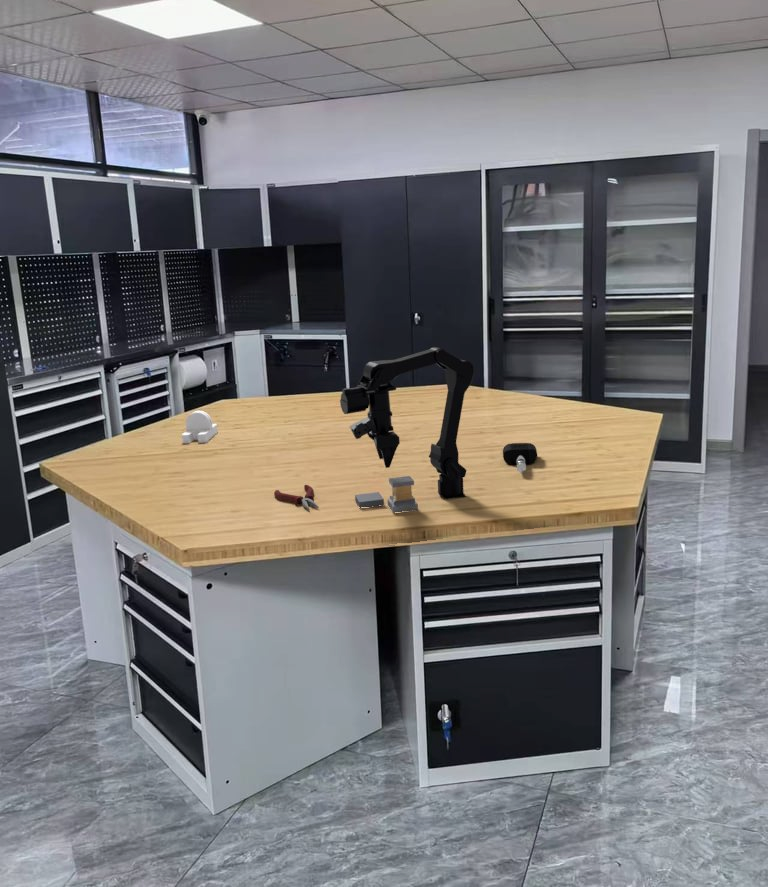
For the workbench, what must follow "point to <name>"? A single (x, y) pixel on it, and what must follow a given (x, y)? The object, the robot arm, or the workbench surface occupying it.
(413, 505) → the stand
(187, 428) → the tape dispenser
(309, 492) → the pliers
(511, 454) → the audio adapter
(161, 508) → the workbench surface
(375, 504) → the stand
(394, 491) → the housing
